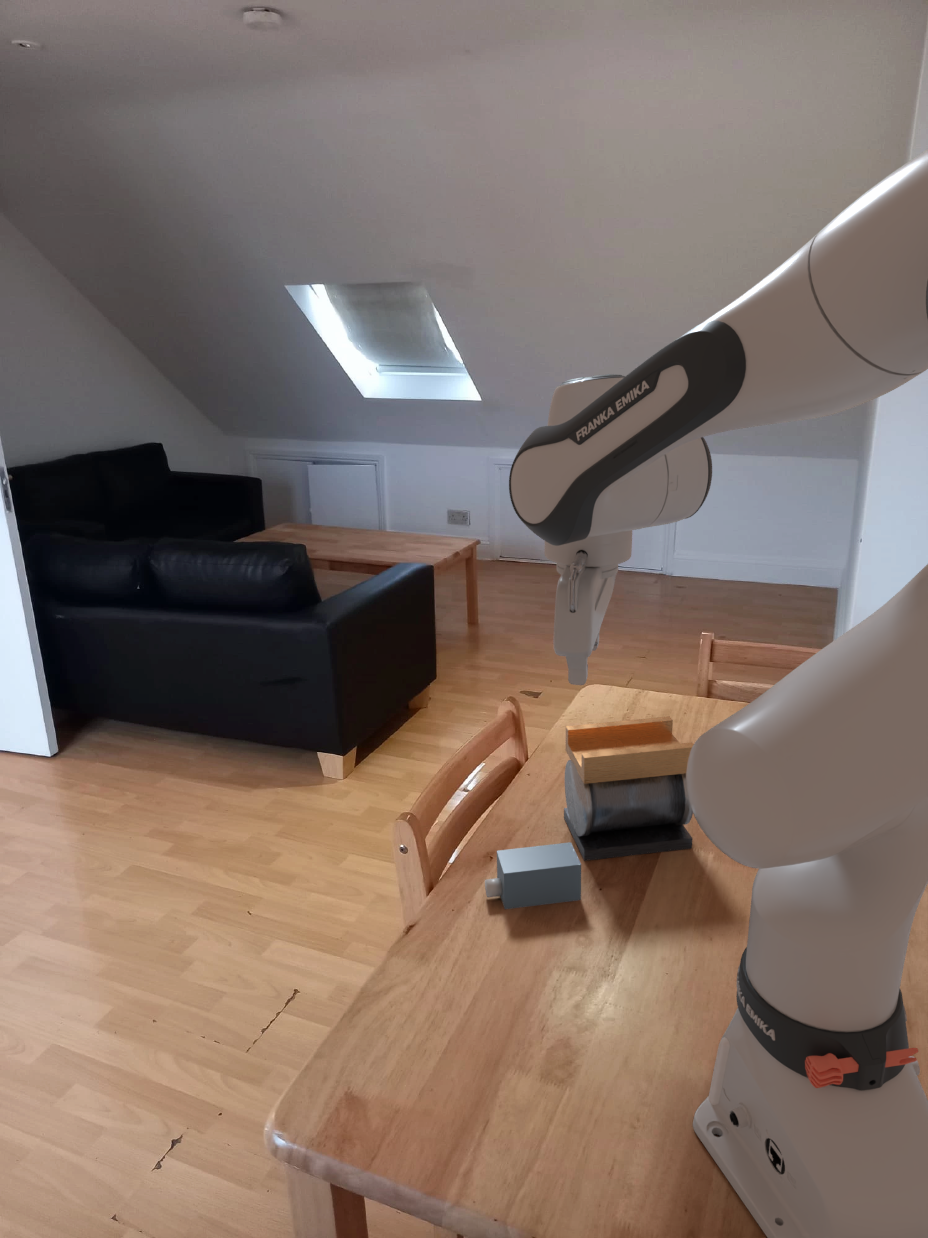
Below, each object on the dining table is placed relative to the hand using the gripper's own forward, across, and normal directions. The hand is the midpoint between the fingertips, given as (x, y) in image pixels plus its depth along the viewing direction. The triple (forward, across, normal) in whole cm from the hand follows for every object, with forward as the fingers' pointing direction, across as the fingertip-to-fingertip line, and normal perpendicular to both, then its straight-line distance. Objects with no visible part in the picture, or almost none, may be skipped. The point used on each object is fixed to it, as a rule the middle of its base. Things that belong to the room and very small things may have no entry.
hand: (584, 664), depth 91 cm
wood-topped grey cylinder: (+29, +12, -4) cm, 32 cm away
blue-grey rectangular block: (+29, -2, +4) cm, 29 cm away
